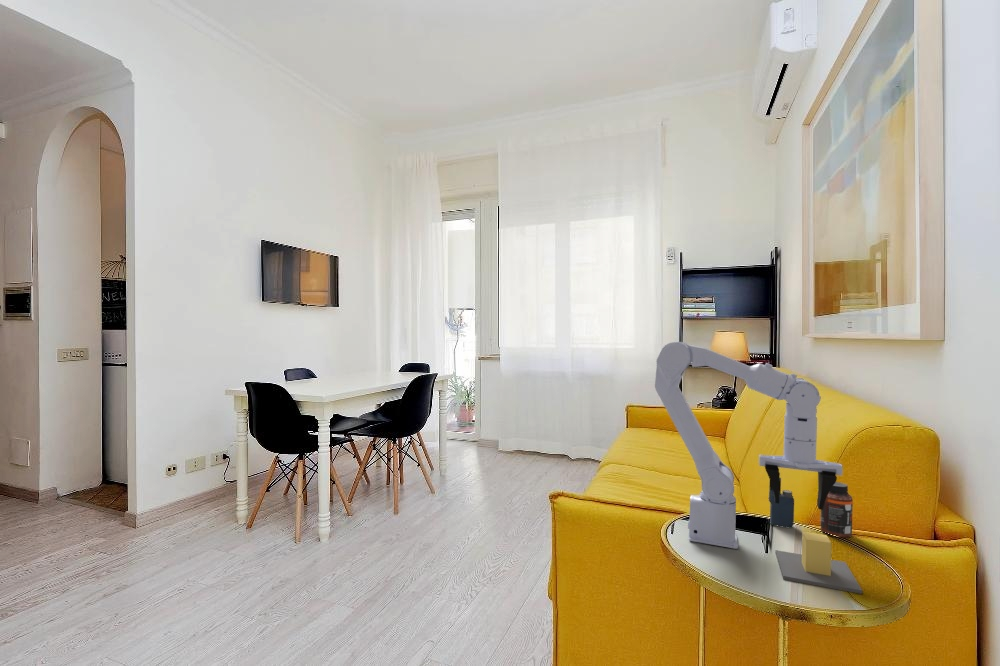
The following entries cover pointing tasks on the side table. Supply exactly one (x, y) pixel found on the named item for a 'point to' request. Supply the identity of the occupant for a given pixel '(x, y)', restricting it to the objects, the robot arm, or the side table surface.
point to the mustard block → (816, 553)
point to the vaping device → (781, 507)
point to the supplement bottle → (837, 512)
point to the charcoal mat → (796, 572)
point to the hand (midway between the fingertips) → (798, 505)
